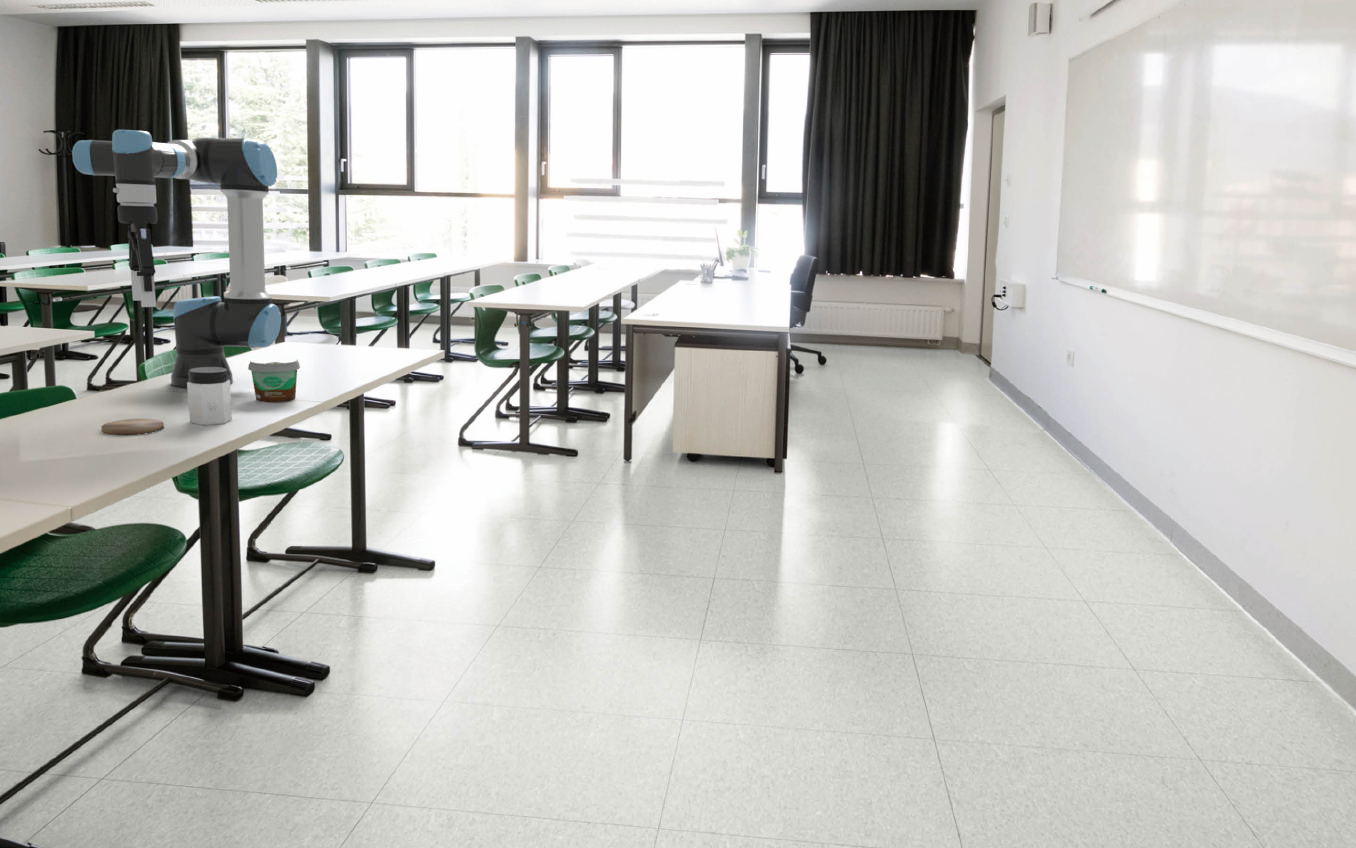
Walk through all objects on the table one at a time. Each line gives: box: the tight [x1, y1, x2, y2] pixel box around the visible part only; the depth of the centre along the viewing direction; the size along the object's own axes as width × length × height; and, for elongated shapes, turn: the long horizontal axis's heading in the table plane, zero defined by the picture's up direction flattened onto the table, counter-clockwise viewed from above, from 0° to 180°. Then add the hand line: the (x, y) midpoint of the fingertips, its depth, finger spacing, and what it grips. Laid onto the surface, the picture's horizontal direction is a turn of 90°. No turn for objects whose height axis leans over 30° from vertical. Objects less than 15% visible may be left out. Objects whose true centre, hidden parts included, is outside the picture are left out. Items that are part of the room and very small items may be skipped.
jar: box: [186, 367, 233, 426], centre depth 230 cm, size 9×8×12 cm
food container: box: [247, 359, 301, 404], centre depth 255 cm, size 12×6×10 cm, turn 117°
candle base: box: [101, 418, 165, 436], centre depth 222 cm, size 12×12×1 cm
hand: (144, 303), depth 222 cm, fingers open, 13 cm apart
